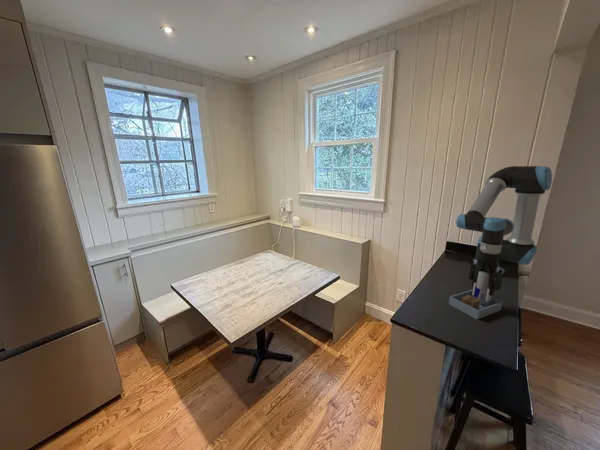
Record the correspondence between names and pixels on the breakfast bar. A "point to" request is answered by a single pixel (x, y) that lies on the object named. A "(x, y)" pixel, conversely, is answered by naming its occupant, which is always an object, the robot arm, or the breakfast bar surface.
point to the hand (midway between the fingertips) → (481, 297)
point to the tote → (483, 310)
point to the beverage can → (482, 286)
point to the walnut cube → (471, 301)
